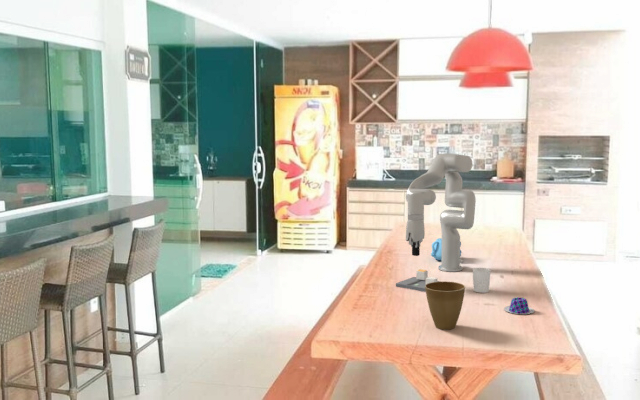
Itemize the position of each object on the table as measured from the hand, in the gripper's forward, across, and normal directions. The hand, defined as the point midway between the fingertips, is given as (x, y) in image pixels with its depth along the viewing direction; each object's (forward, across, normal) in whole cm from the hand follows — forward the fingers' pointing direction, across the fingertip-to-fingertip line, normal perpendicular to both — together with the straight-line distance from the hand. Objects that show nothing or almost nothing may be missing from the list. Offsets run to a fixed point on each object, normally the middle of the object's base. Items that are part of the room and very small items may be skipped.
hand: (415, 255), depth 301 cm
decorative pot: (+15, -59, -16) cm, 63 cm away
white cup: (+15, -10, +29) cm, 34 cm away
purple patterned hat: (+15, +9, +55) cm, 58 cm away
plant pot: (+14, +46, +41) cm, 63 cm away
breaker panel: (+15, -1, +6) cm, 16 cm away
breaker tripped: (+13, -6, 0) cm, 14 cm away
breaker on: (+13, +4, +11) cm, 17 cm away
